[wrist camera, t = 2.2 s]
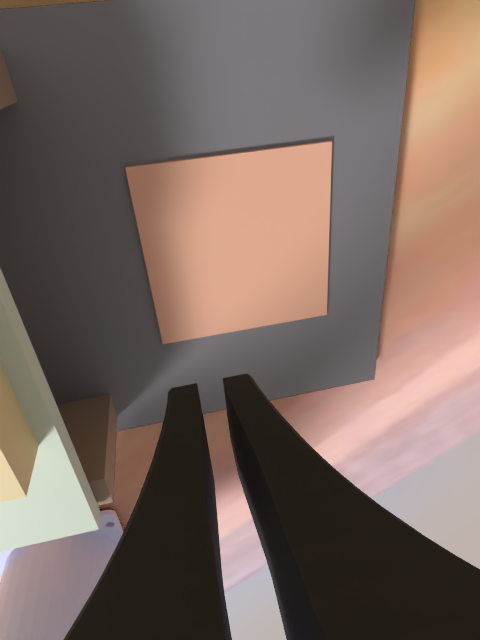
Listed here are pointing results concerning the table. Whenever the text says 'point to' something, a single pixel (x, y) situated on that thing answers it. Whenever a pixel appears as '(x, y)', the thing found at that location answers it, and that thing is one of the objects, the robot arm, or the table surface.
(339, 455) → the table surface
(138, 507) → the robot arm
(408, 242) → the table surface
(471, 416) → the table surface
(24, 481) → the lid
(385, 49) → the board
